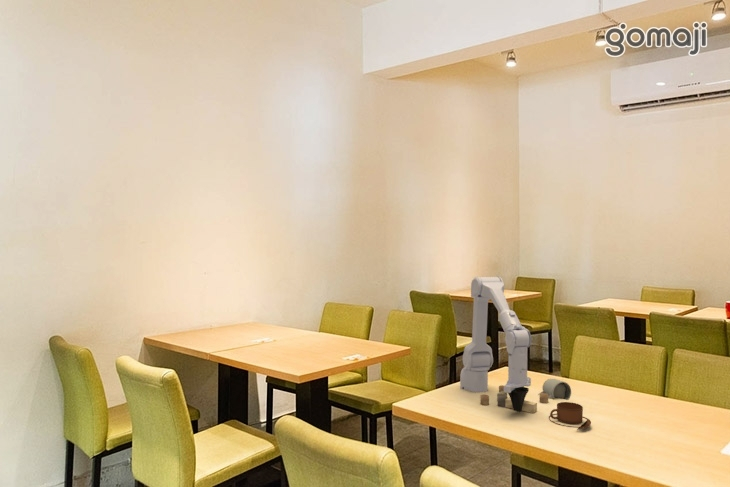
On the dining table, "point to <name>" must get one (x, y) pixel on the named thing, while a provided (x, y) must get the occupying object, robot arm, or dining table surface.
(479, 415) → the dining table surface
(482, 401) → the small brown blocks set
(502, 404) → the leg bar
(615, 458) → the dining table surface
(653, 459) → the dining table surface
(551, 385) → the ceramic mug
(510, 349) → the robot arm
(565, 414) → the cup and saucer
